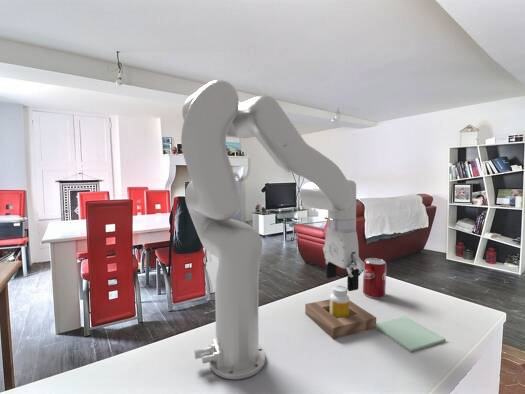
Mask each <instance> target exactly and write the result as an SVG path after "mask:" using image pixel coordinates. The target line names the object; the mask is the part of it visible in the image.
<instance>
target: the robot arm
mask: <svg viewBox="0 0 525 394" xmlns="http://www.w3.org/2000/svg"><path fill="white" fill-rule="evenodd" d="M181 112H182V118H183V125H182V128H181V129H182V130H181V138H180V139H181V141H180V142H181V150H182V155H183V158H184V161H185V165H186V168H187V171H188V174H189V177H190V181H189V182H188V184H187V186H186V187H185V188H186V189H185V191H184V192H185V193H184V200H185V205H186V208H187V211H188V214H189V215H190V216H189V217H190V218H191V222H192V223H193V226H194V228H195V231H196V233H197V236H198V238H199V240H200V243H201V244H202V246H203V248H204V249H205V250H206V252H208V254H209V253H210V254H211V255H213V256H214V257H215V258H217V260H218V265H217V270H216V275H215V280H214V281H215V282H214V283H215V284H214V295H215V297H214V299H215V300H214V301H215V303H214V304H215V307H214V308H215V338H212V343H211V344H208V346H205V347H200V348H195V349H194V351H193V353H194V360H197V359H201V362H202V363H201V364H202V365H204V364H207V363H208V364H209V367H210V369H211V371H212V372H213V373H214V374H215V375H217V376H219V377H220V378H224V379H228V380H242V379H247V378H251V377H252V376H254V375H256V374H258V373H259V372H260V371H261V370H262V369H263V367H264V365H265V362H266V352H265V349H264V348H263V347H262V346H261V345H260V344H259V277H260V266H261V261H262V255H263V249H264V248H263V245H264V244H263V241H262V237H261V234H260V233H259V232H258V231H257V229H256V228H254V227H253V226H252V225H250V224H248V223H246V222H243V221H241V220H237V219H233V218H235V217H236V216H237V215H239V212H240V211H241V209H242V205H243V197H242V194H241V190H240V186H239V184H238V181H237V179H236V176H235V173H234V170H233V166H232V164H231V160H230V157H229V154H228V153H229V152H228V150H227V137H228V138H236V139H237V138H238V139H250V138H254V137H255V138H256V140H257V141H258V142H259V143H260V145H261V146H262V147H263V148H264V150H265V151H266V152H267V153H268V155H269V156H270V157H271V158H272V160H273V161H274V162H275V164H276V165H277V166H278V167H280V168H281V169H283V170H284V171H287V172H289V173H292V174H295V175H297V176H298V177H302V178H304V179H306V180H308V181H307V182H306V183H304V184H303V185H302V186H301V188H300V191H299V197H300V201H301V202H302V204H303V205H305V206H307V207H308V208H311V209H317V210H318V209H319V210H326V211H327V228H326V232H325V238H324V246H323V247H322V251H323V257H324V259H325V261H324V263H325V266H326V267H325V268H326V269H325V270H326V276H325V277H326V278H327V279H331V278H336V277H337V267H339V268H341V269H346V271H347V274H348V276H347V287H346V288H347V292H352V291H357V290H358V291H359V283H360V282H359V281H360V280H359V277H360V276H361V275H362V273H363V271H364V266H365V264H364V261H363V260H362V259H361V257H360V255H359V252H360V251H359V240H358V233H357V184H356V182H355V181H354V180H351V179H347V177H346V175H344V173H343V171H342V170H341V169H340V168H339V166H338V165H337V164H336V163H335V162H334V161H332V160H331V158H329V157H327V156H326V155H324V154H323V153H321V152H320V151H319V150H317V149H316V148H314V147H312V146H310V145H309V144H308V143H307V141H305V140H304V138H303V137H302V135H301V134H300V132H299V131H298V129H297V128H296V127H295V125H294V123H292V122H293V121H291V119H290V118H289V117H288V115H287V114H286V112H285V111H284V110H283V108H282V107H281V106H280V104H279V102H278V101H277V100H276V99H275V98H274V97H272V96H271V95H266V94H265V95H264V94H261V95H258V96H255V97H251V98H250V99H249V98H248V100H245V101H243V102H240V98H239V95H238V91H237V90H236V88H235V87H234V86H233V85H232V84H231V83H230V82H228V81H227V80H222V79H219V80H218V79H217V80H212V81H209V82H207V83H206V84H204V85H203V86H201V87H200V88H198V90H197V91H195V92H194V93H192V94H191V95H189V96H188V98H186V100H185V101H184V103H183V106H182V110H181ZM352 268H353V270H352Z"/></svg>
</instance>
